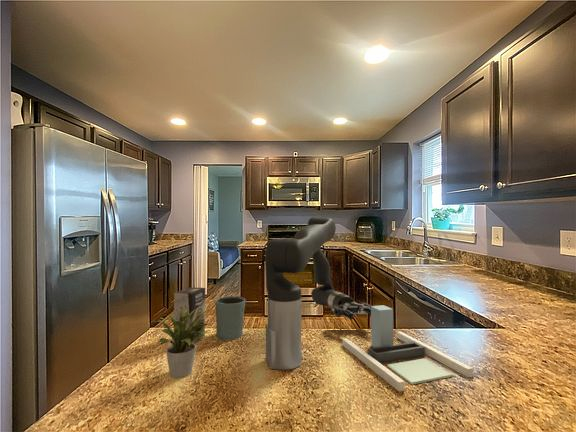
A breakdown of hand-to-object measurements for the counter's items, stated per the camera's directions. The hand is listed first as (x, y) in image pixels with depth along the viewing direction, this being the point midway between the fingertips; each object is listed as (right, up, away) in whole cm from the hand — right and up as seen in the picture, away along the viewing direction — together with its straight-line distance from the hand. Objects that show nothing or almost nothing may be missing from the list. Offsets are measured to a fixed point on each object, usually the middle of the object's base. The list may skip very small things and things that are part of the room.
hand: (363, 315), depth 96 cm
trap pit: (+5, -6, -16) cm, 18 cm away
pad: (+8, -6, -24) cm, 26 cm away
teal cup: (-45, -7, 0) cm, 46 cm away
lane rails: (+5, -6, -18) cm, 19 cm away
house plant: (-53, -6, -26) cm, 59 cm away
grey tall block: (+3, -6, -10) cm, 12 cm away
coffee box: (-58, -7, -4) cm, 58 cm away
